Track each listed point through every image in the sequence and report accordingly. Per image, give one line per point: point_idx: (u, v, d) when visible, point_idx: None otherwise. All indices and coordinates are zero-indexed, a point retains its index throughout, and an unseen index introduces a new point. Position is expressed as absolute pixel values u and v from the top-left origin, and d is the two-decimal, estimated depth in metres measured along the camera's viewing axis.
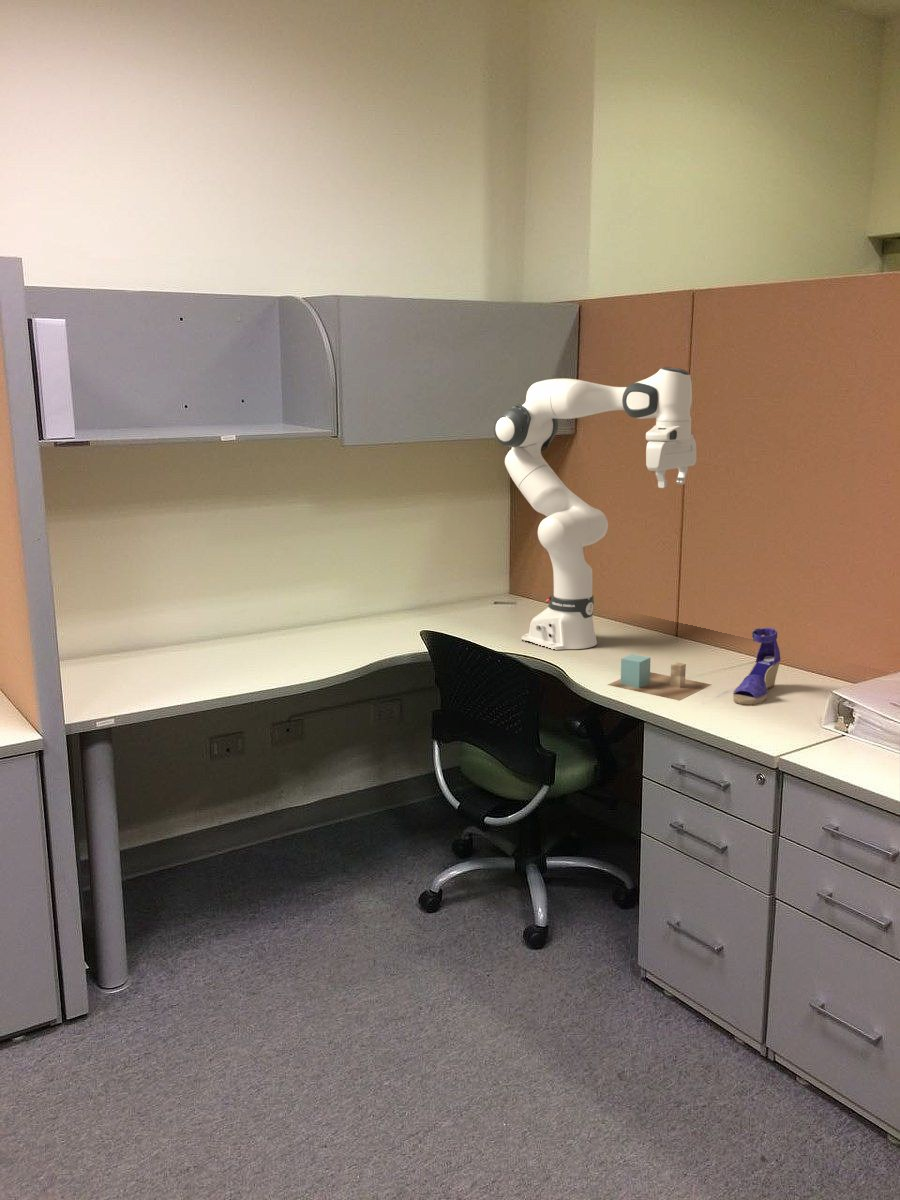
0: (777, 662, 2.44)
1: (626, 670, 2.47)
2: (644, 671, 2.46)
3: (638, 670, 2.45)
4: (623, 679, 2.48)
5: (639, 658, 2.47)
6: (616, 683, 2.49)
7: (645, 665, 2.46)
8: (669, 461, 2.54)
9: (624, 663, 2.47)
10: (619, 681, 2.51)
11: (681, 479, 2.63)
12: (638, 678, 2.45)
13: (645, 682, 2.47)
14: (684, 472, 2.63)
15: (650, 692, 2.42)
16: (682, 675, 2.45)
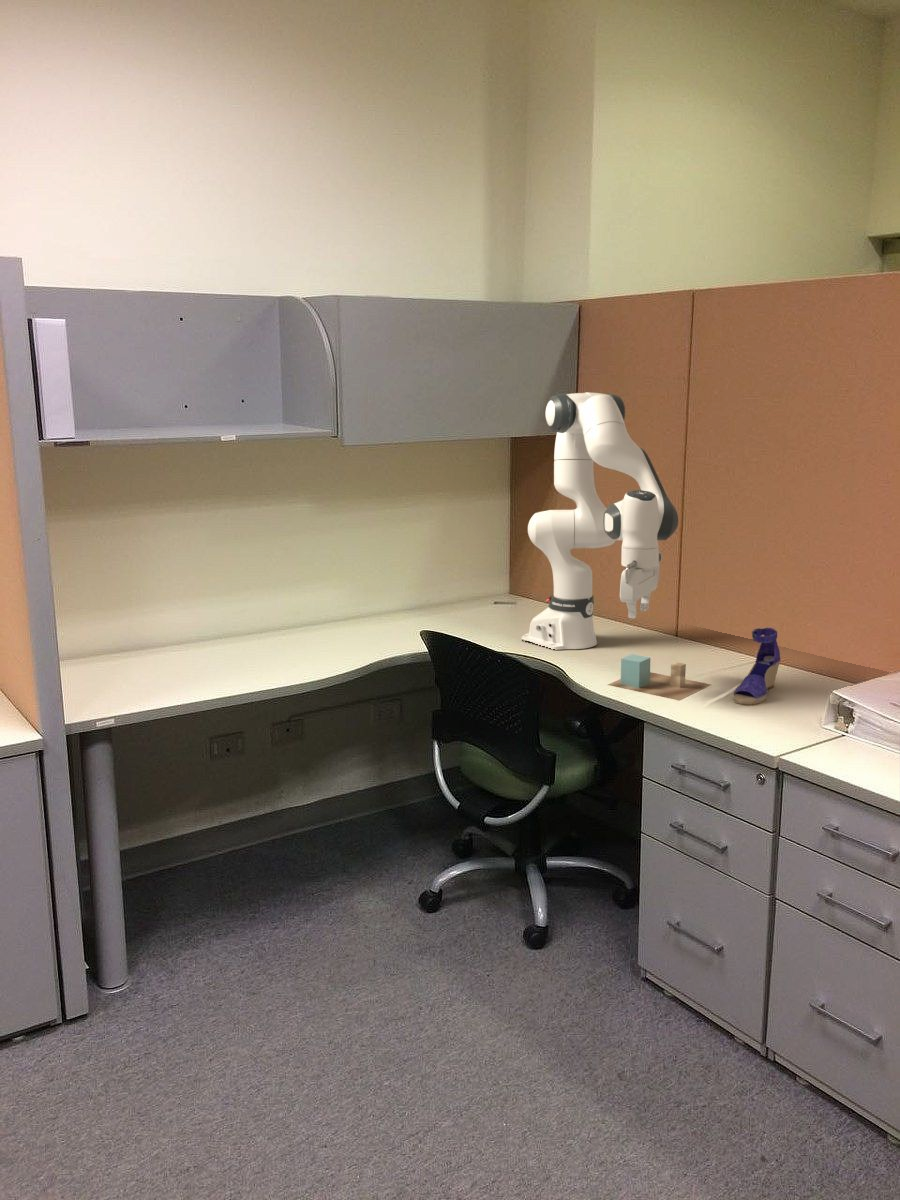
0: (777, 662, 2.44)
1: (626, 670, 2.47)
2: (644, 671, 2.46)
3: (638, 670, 2.45)
4: (623, 679, 2.48)
5: (639, 658, 2.47)
6: (616, 683, 2.49)
7: (645, 665, 2.46)
8: None
9: (624, 663, 2.47)
10: (619, 681, 2.51)
11: None
12: (638, 678, 2.45)
13: (645, 682, 2.47)
14: None
15: (650, 692, 2.42)
16: (682, 675, 2.45)
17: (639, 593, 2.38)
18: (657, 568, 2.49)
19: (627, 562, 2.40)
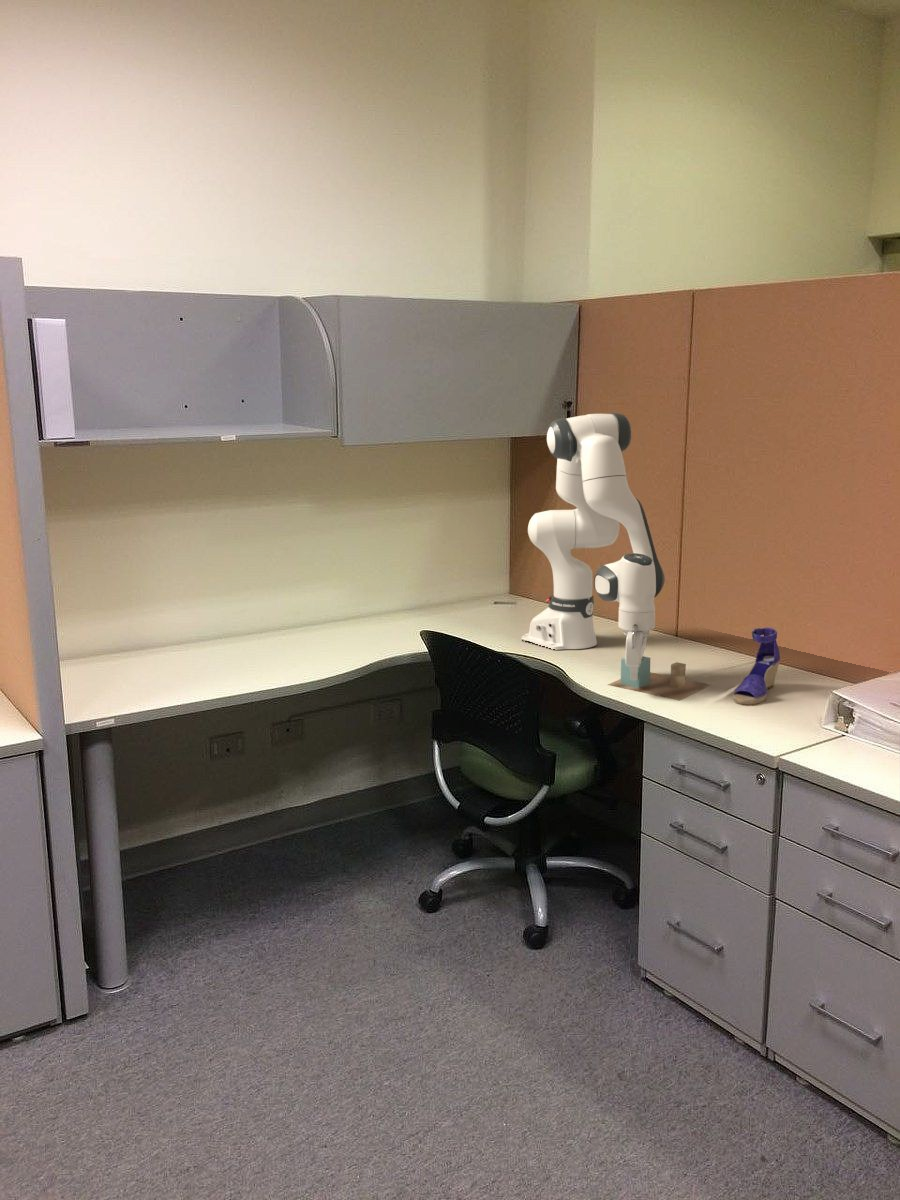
0: (777, 662, 2.44)
1: (626, 670, 2.47)
2: (644, 671, 2.46)
3: (638, 670, 2.45)
4: (623, 679, 2.48)
5: None
6: (616, 683, 2.49)
7: (645, 665, 2.46)
8: None
9: (624, 664, 2.47)
10: (619, 681, 2.51)
11: None
12: (638, 678, 2.45)
13: (645, 682, 2.47)
14: None
15: (650, 692, 2.42)
16: (682, 675, 2.45)
17: None
18: None
19: (627, 626, 2.42)
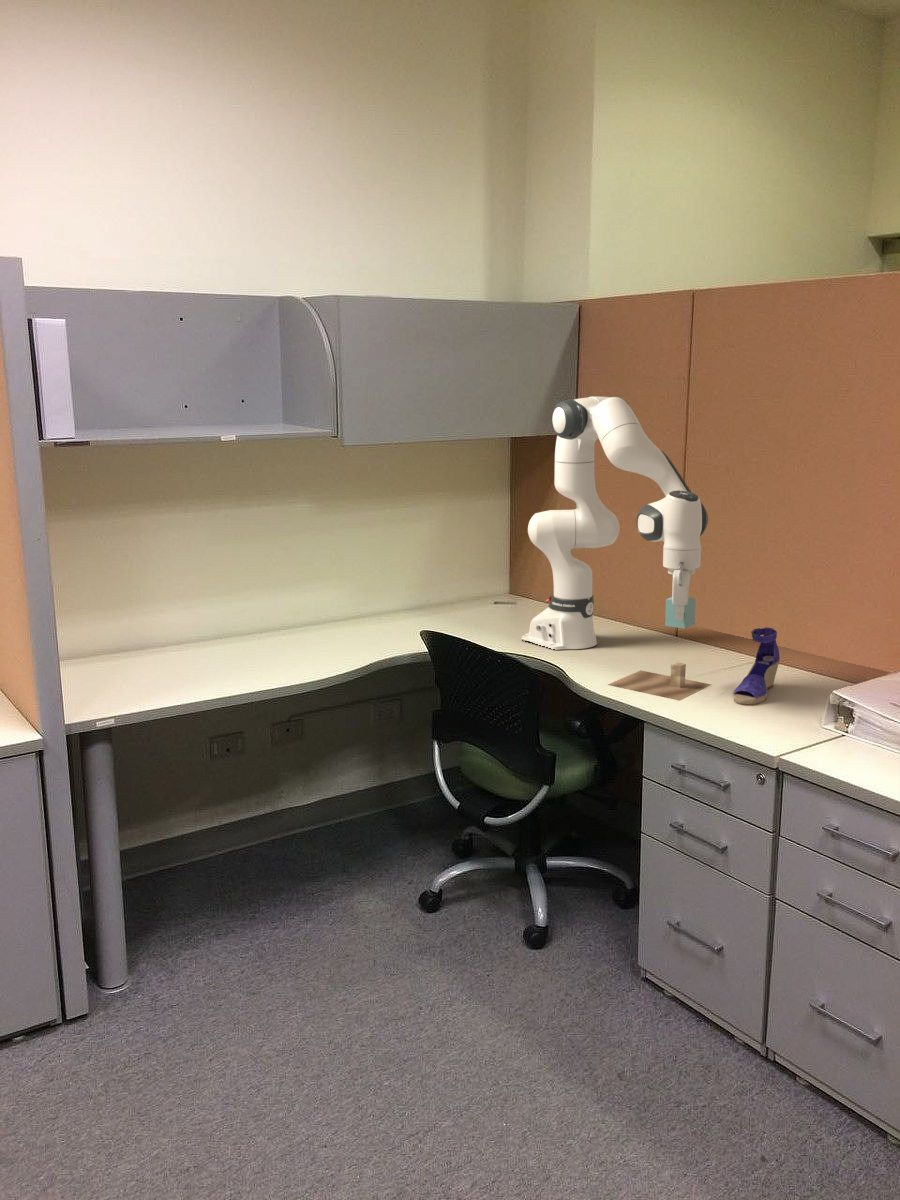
0: (776, 662, 2.44)
1: (671, 611, 2.41)
2: (689, 611, 2.41)
3: (684, 610, 2.39)
4: (668, 620, 2.42)
5: None
6: (616, 683, 2.49)
7: (690, 605, 2.41)
8: None
9: (669, 604, 2.41)
10: (619, 681, 2.51)
11: None
12: (684, 618, 2.39)
13: (690, 623, 2.42)
14: None
15: (650, 692, 2.42)
16: (682, 675, 2.45)
17: None
18: None
19: (673, 564, 2.37)
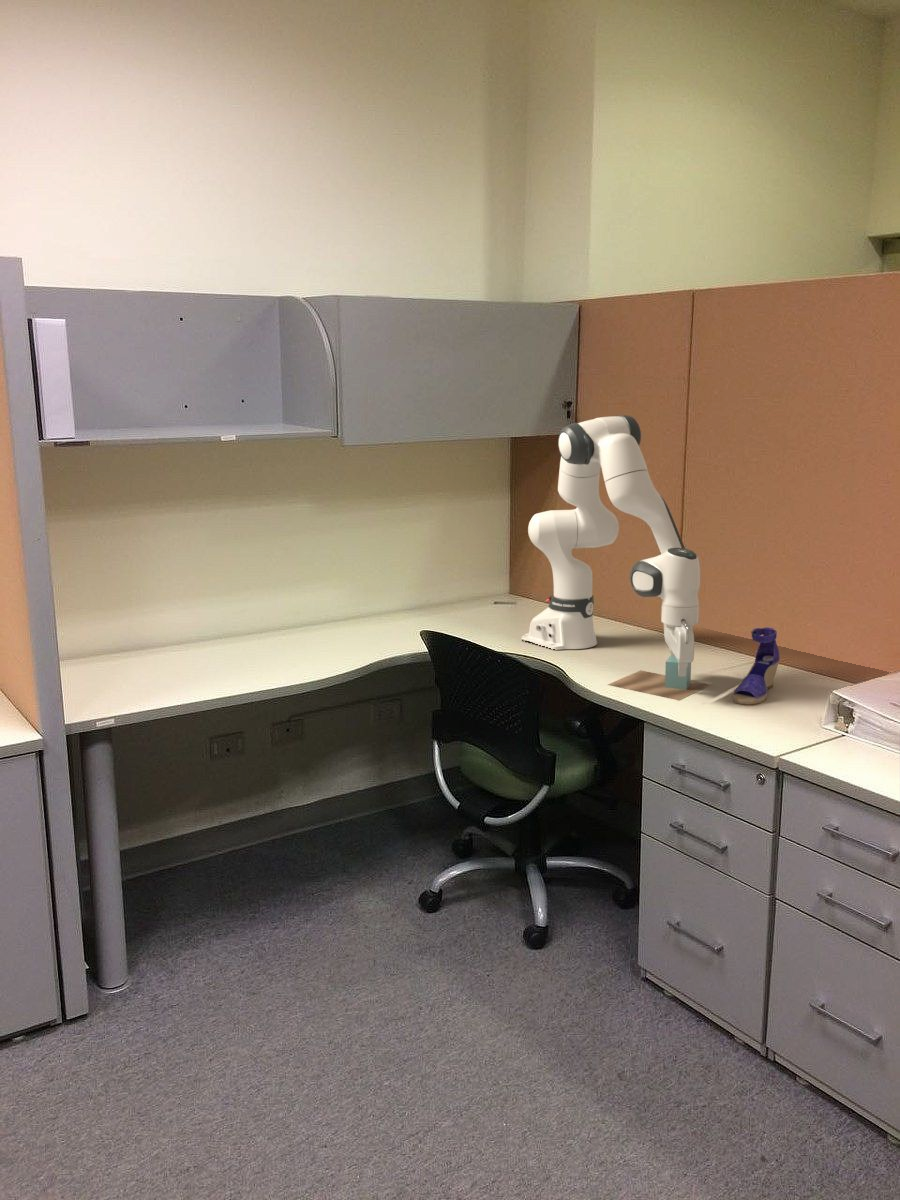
0: (776, 662, 2.44)
1: (671, 673, 2.44)
2: (688, 672, 2.45)
3: None
4: (668, 682, 2.45)
5: None
6: (616, 683, 2.49)
7: (689, 666, 2.45)
8: (668, 638, 2.49)
9: (669, 666, 2.44)
10: (619, 681, 2.51)
11: None
12: (685, 680, 2.43)
13: (688, 683, 2.46)
14: None
15: (650, 692, 2.42)
16: None
17: None
18: None
19: (675, 621, 2.39)
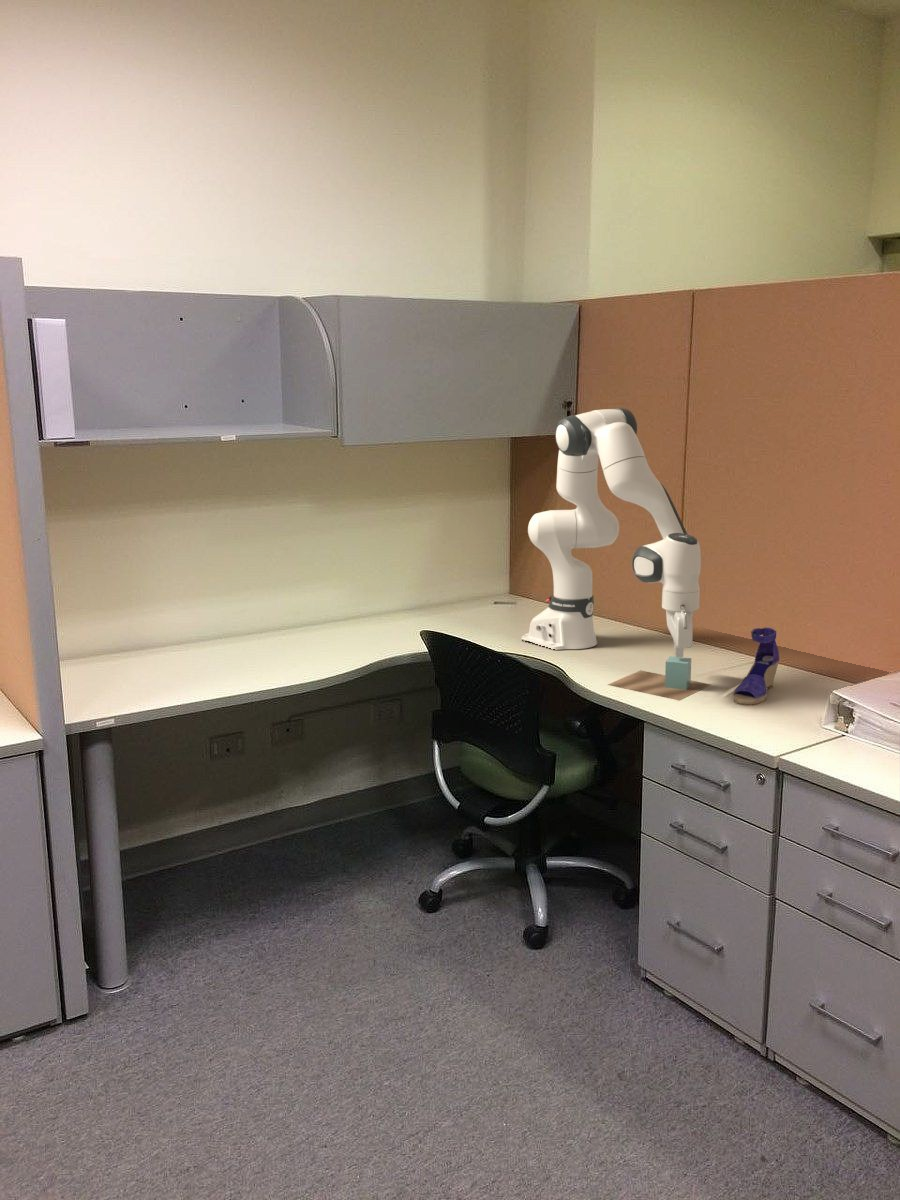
0: (776, 662, 2.44)
1: (671, 673, 2.44)
2: (688, 672, 2.45)
3: (685, 672, 2.43)
4: (668, 682, 2.45)
5: (682, 659, 2.45)
6: (616, 683, 2.49)
7: (689, 666, 2.45)
8: (669, 624, 2.49)
9: (669, 666, 2.44)
10: (619, 681, 2.51)
11: None
12: (685, 680, 2.43)
13: (688, 683, 2.46)
14: None
15: (650, 692, 2.42)
16: None
17: None
18: None
19: (675, 606, 2.39)
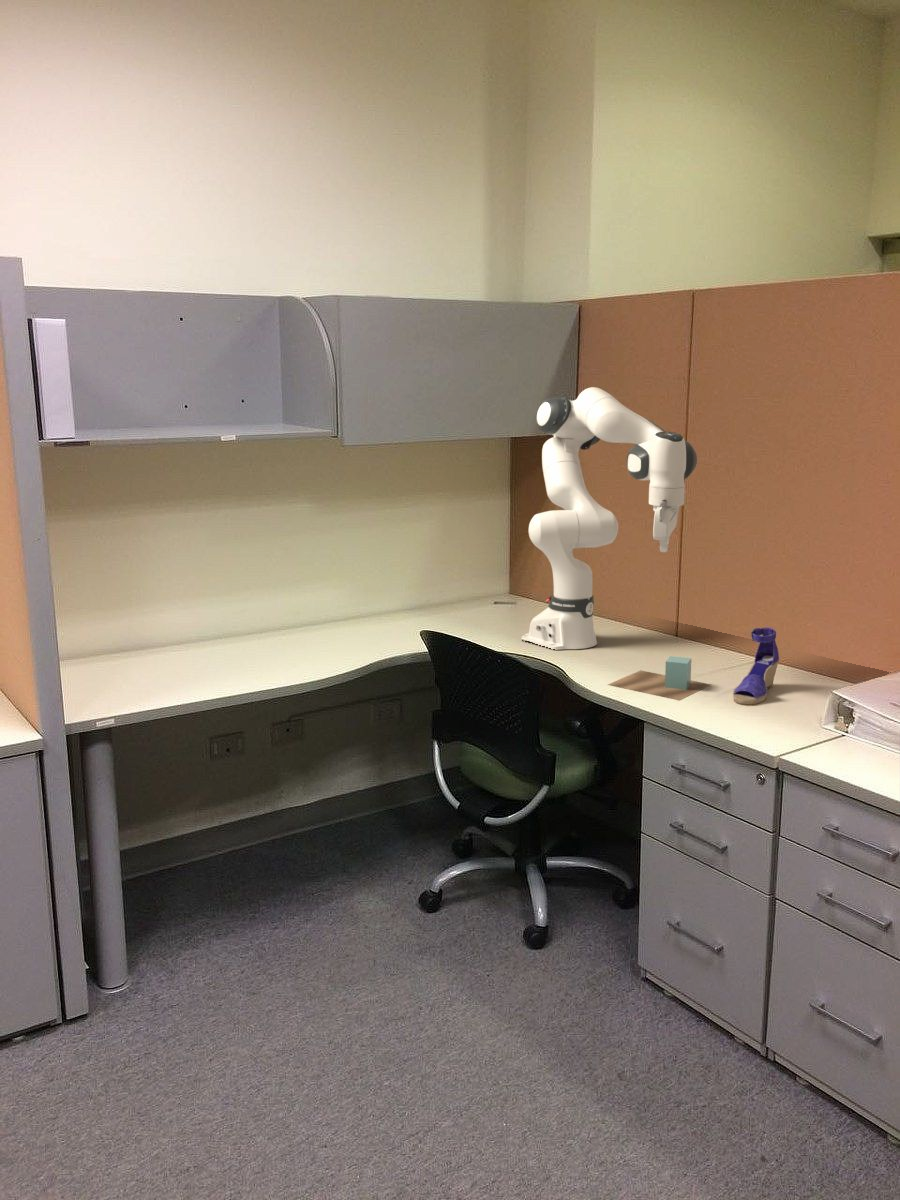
0: (776, 662, 2.44)
1: (671, 673, 2.44)
2: (688, 672, 2.45)
3: (685, 672, 2.43)
4: (668, 682, 2.45)
5: (682, 659, 2.45)
6: (616, 683, 2.49)
7: (689, 666, 2.45)
8: (660, 521, 2.59)
9: (669, 666, 2.44)
10: (619, 681, 2.51)
11: None
12: (685, 680, 2.43)
13: (688, 683, 2.46)
14: None
15: (650, 692, 2.42)
16: None
17: (669, 530, 2.49)
18: None
19: (657, 501, 2.50)
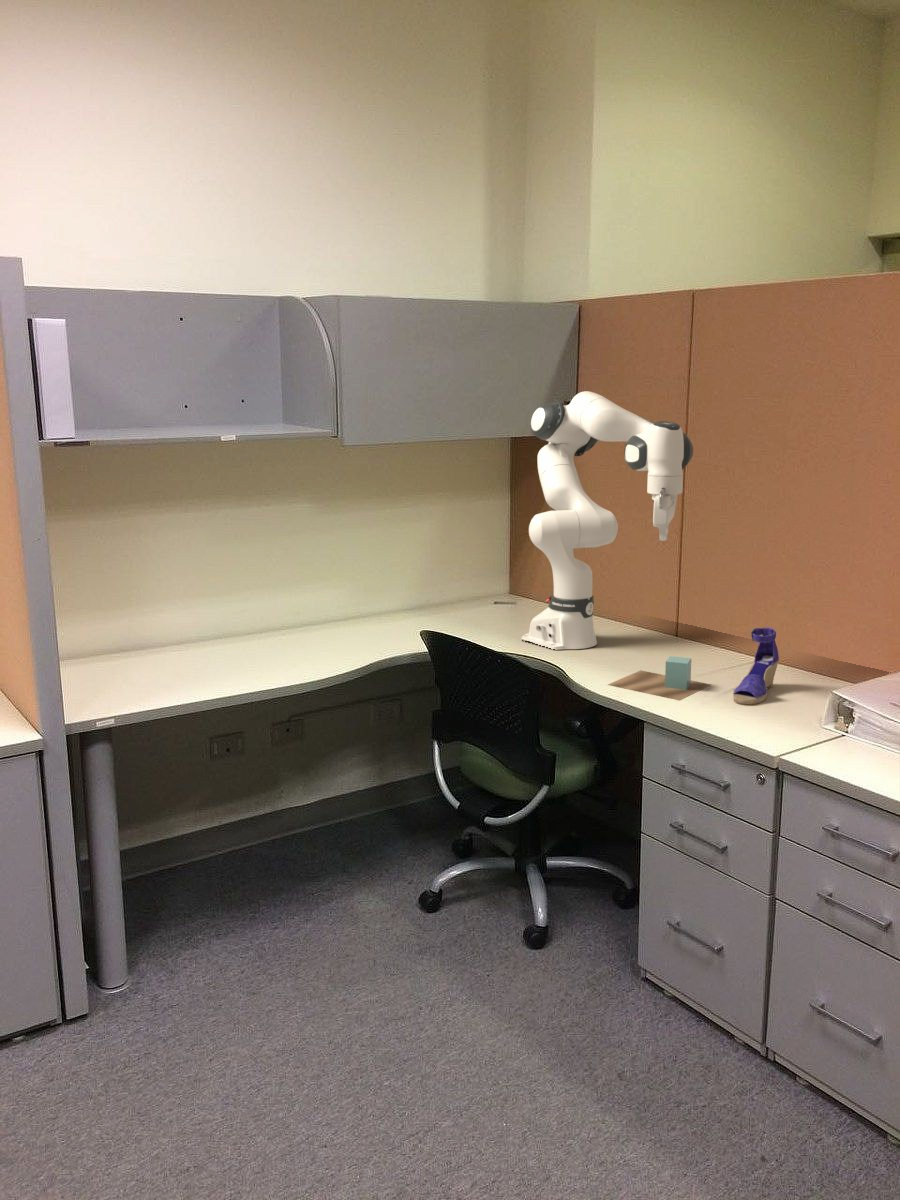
0: (776, 662, 2.44)
1: (671, 673, 2.44)
2: (688, 672, 2.45)
3: (685, 672, 2.43)
4: (668, 682, 2.45)
5: (682, 659, 2.45)
6: (616, 683, 2.49)
7: (689, 666, 2.45)
8: None
9: (669, 666, 2.44)
10: (619, 681, 2.51)
11: None
12: (685, 680, 2.43)
13: (688, 683, 2.46)
14: None
15: (650, 692, 2.42)
16: None
17: (669, 518, 2.51)
18: None
19: (656, 489, 2.52)
